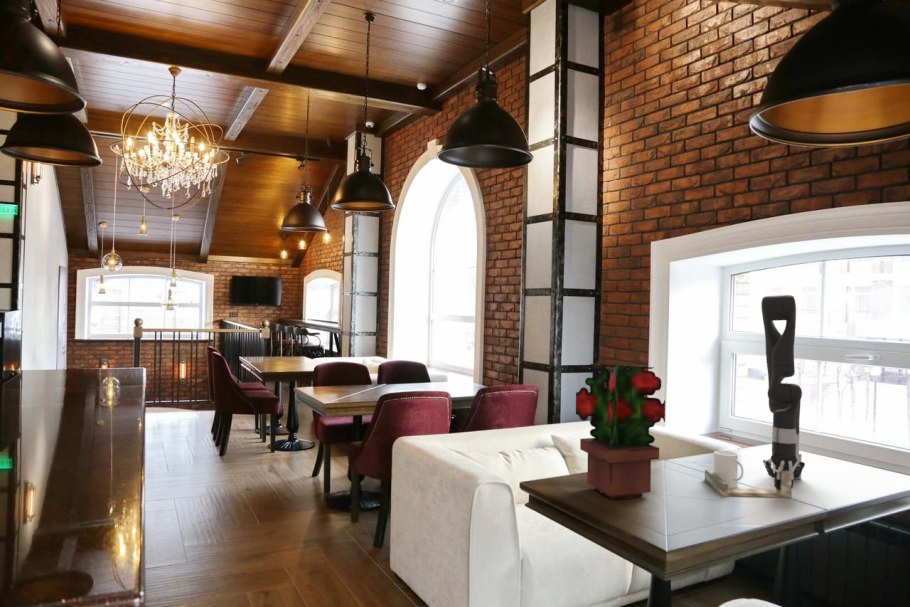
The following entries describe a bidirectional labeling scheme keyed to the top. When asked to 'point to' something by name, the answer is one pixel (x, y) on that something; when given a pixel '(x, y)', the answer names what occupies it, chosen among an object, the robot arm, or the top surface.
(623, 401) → the potted plant
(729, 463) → the mug
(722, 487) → the bracket
